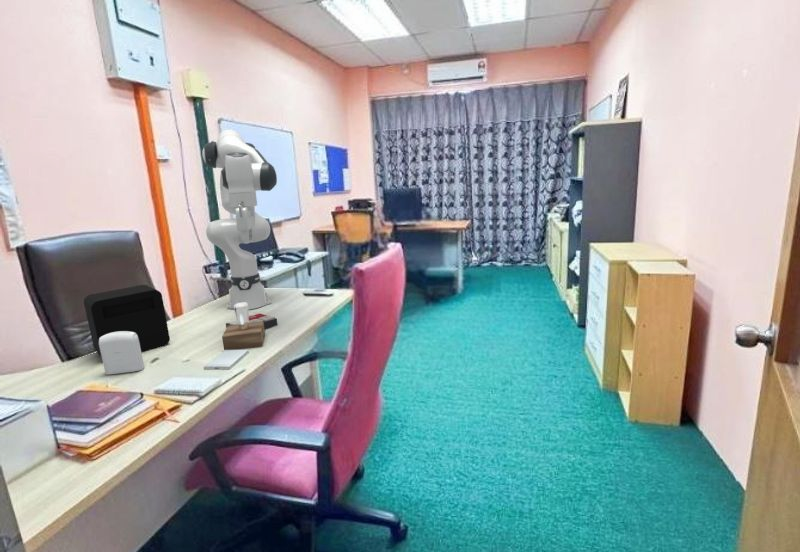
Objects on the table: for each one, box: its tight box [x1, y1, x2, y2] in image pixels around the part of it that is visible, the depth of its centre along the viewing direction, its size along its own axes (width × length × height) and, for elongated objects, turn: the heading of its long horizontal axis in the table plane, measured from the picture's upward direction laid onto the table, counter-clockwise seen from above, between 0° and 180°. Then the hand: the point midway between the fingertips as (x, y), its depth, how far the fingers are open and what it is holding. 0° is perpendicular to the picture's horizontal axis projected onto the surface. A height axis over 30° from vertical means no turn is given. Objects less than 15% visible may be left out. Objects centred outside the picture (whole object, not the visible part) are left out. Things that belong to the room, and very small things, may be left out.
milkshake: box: [233, 298, 250, 330], centre depth 145 cm, size 4×5×10 cm
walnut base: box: [221, 321, 266, 351], centre depth 147 cm, size 12×12×5 cm
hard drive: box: [203, 349, 250, 371], centre depth 133 cm, size 2×8×12 cm
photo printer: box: [99, 331, 145, 376], centre depth 128 cm, size 10×4×12 cm, turn 100°
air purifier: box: [83, 284, 171, 358], centre depth 146 cm, size 20×15×20 cm
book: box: [225, 313, 279, 330], centre depth 161 cm, size 11×4×15 cm
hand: (248, 241), depth 150 cm, fingers open, 8 cm apart
